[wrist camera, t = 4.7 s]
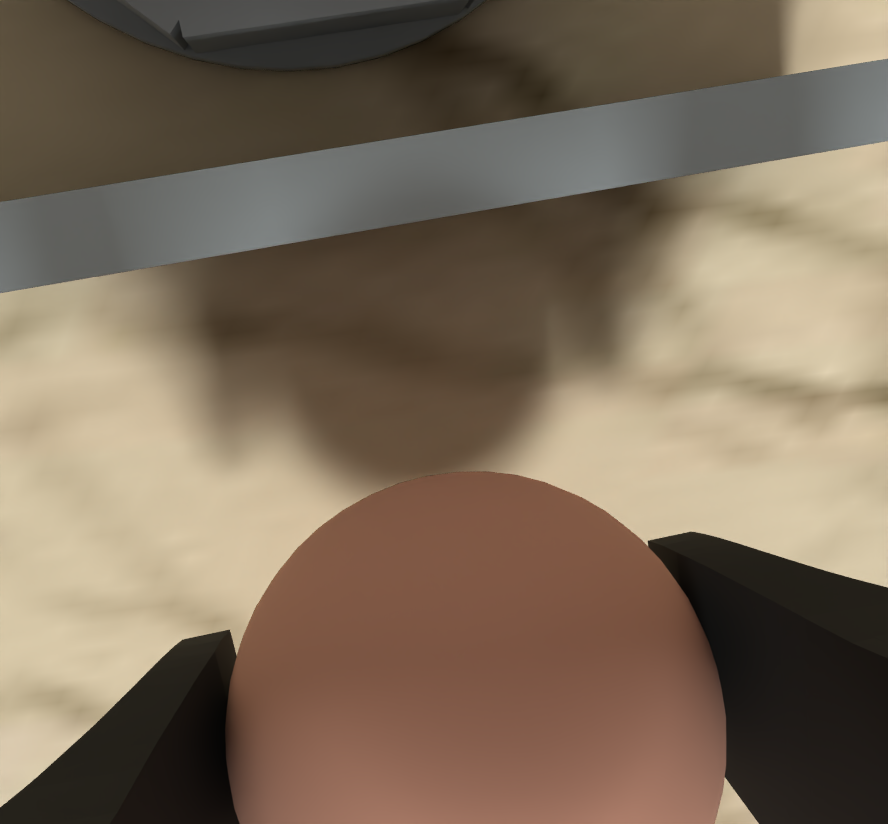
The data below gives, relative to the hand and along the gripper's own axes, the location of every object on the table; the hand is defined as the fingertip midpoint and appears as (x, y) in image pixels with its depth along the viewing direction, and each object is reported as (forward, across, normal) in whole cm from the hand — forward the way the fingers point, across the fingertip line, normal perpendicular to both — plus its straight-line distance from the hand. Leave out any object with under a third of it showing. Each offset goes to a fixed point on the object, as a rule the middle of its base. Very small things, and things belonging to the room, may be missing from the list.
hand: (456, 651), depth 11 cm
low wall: (+4, 0, -6) cm, 7 cm away
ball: (+1, 0, 0) cm, 1 cm away
